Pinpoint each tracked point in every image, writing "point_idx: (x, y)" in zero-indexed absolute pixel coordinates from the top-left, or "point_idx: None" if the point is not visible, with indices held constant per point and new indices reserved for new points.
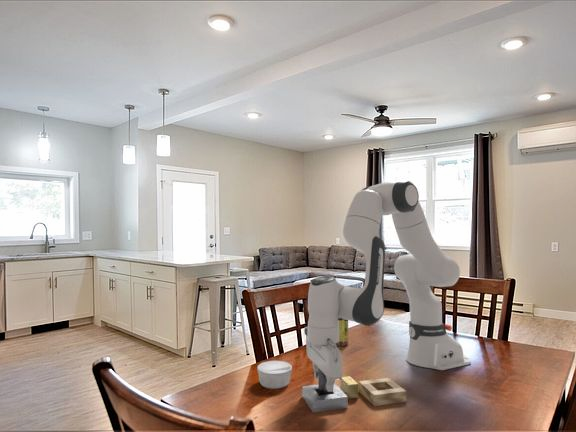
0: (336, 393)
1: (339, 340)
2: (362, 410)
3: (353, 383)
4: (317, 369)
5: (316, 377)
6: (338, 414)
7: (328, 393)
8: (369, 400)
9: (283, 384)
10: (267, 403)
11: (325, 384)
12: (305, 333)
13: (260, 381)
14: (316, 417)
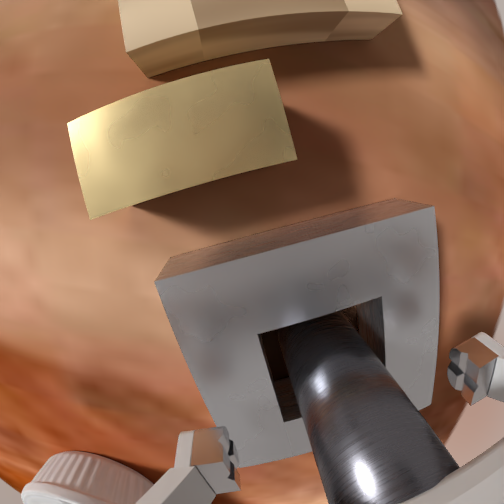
0: (379, 282)
1: None
2: (421, 121)
3: (259, 101)
4: (198, 494)
5: (236, 456)
6: (445, 261)
7: (361, 337)
8: (315, 39)
9: (144, 484)
10: (293, 500)
11: (466, 400)
12: None
13: None
14: (442, 355)
